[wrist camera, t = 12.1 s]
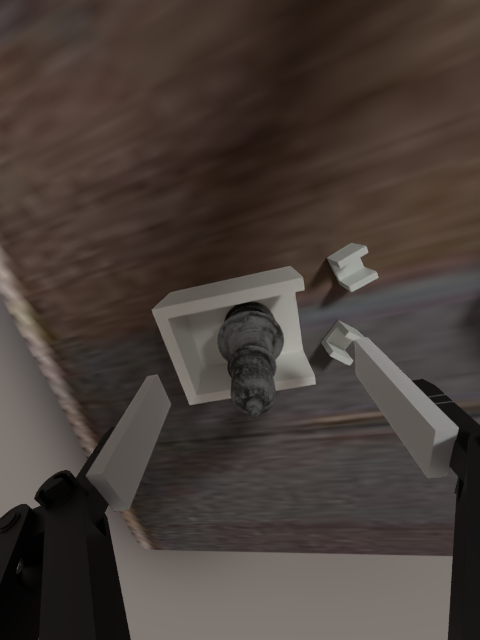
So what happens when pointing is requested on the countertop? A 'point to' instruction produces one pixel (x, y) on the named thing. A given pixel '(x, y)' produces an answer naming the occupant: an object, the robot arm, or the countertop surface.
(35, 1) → the countertop surface
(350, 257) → the clip
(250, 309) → the grey tapered rounded piece
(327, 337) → the clip
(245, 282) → the end holder
